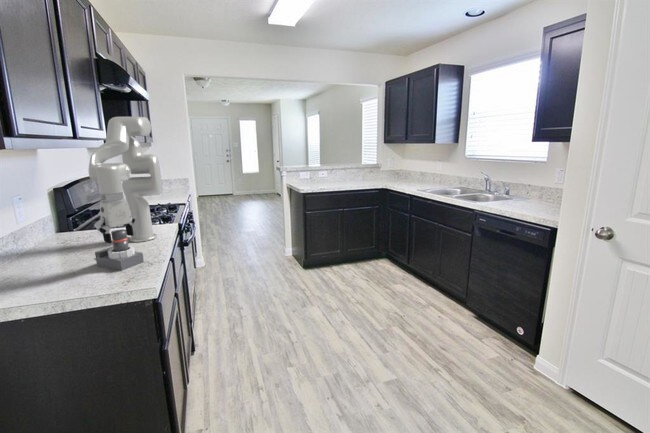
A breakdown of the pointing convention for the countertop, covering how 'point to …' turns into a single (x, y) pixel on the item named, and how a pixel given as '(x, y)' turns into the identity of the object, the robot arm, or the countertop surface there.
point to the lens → (120, 240)
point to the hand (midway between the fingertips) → (119, 238)
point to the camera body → (118, 258)
